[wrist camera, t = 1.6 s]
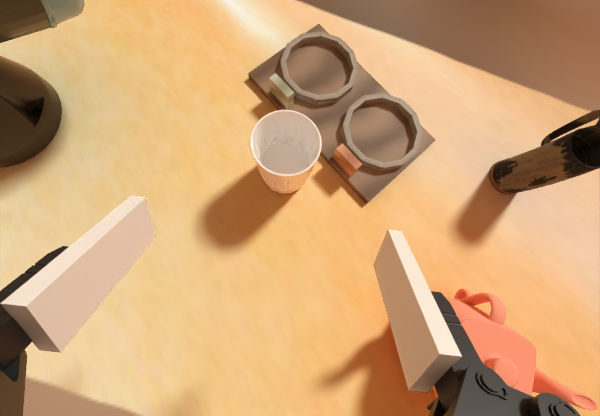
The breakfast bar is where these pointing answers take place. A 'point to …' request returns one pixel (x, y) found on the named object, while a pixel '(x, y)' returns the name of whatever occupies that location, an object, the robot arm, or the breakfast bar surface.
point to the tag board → (344, 109)
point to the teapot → (507, 349)
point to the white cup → (285, 149)
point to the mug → (551, 158)
